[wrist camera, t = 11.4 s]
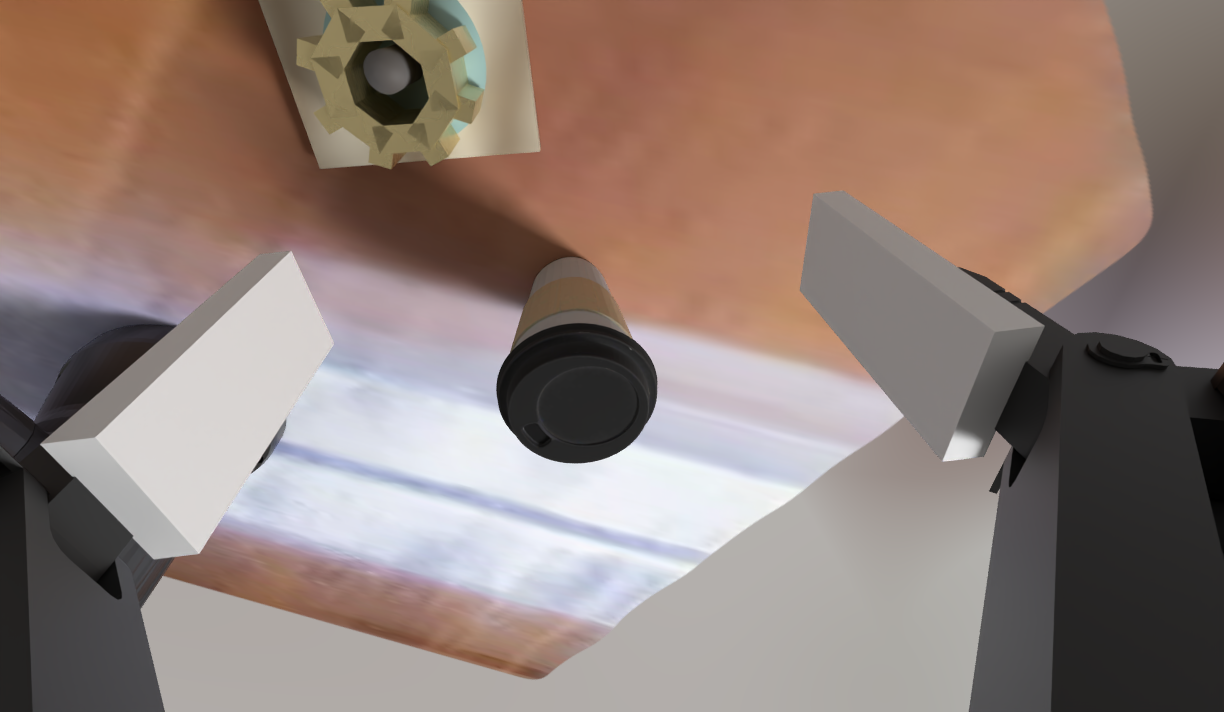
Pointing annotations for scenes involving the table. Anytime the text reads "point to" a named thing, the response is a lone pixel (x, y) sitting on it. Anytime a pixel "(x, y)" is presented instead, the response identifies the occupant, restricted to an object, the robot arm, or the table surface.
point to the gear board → (422, 78)
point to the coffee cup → (575, 369)
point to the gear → (375, 113)
